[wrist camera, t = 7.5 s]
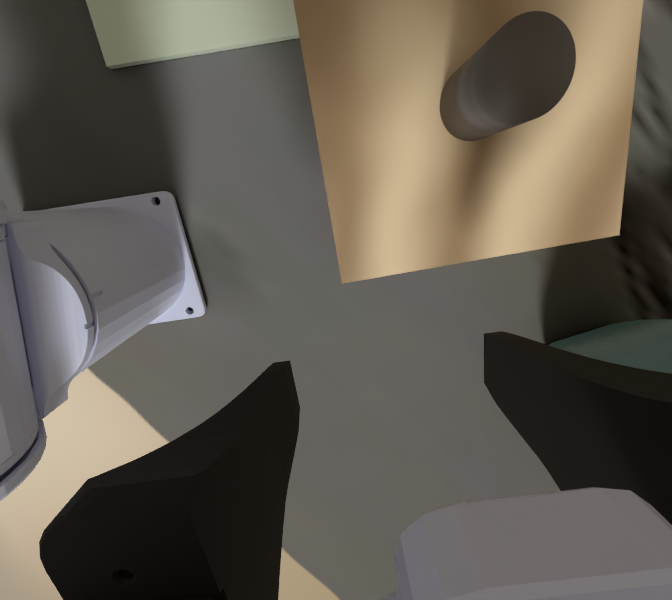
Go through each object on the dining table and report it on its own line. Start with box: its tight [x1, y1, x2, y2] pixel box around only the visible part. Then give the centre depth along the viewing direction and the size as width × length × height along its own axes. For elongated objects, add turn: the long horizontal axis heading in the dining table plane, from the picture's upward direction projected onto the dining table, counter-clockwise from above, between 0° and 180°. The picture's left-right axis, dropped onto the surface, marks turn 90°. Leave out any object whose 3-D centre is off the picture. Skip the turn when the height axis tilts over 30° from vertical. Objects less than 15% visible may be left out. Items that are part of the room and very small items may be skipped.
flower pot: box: [549, 319, 672, 374], centre depth 20 cm, size 9×9×9 cm
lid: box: [293, 0, 643, 283], centre depth 13 cm, size 14×14×5 cm
